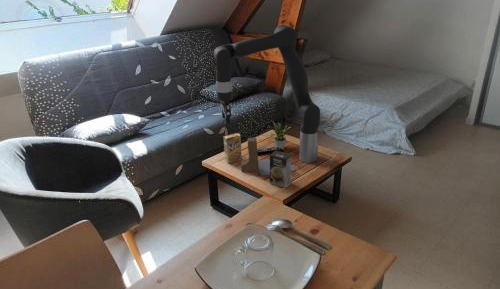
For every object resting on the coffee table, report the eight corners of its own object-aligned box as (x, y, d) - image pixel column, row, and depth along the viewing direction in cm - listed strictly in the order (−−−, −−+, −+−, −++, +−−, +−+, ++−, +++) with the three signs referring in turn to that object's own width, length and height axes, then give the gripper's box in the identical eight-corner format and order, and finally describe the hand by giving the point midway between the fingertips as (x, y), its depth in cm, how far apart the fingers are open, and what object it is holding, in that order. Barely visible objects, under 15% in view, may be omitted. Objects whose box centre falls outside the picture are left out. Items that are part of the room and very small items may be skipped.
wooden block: (241, 172, 190) (238, 142, 182) (242, 168, 194) (239, 138, 186) (258, 171, 190) (256, 141, 182) (258, 167, 194) (256, 137, 186)
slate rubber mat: (285, 157, 204) (285, 156, 204) (295, 170, 190) (295, 169, 190) (253, 162, 200) (253, 161, 200) (261, 176, 186) (261, 175, 186)
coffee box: (269, 183, 179) (269, 155, 172) (275, 177, 184) (275, 149, 177) (285, 188, 175) (286, 159, 168) (291, 182, 180) (291, 153, 173)
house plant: (261, 147, 217) (261, 122, 210) (278, 140, 224) (278, 116, 217) (277, 155, 207) (277, 129, 200) (294, 148, 214) (295, 123, 207)
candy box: (227, 163, 200) (226, 138, 193) (224, 160, 203) (223, 135, 196) (242, 159, 203) (240, 135, 197) (238, 156, 207) (237, 132, 200)
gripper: (235, 93, 166) (237, 125, 173) (228, 84, 179) (230, 115, 186) (219, 94, 164) (221, 127, 171) (213, 86, 177) (216, 117, 184)
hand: (226, 121), depth 179 cm, fingers open, 8 cm apart
